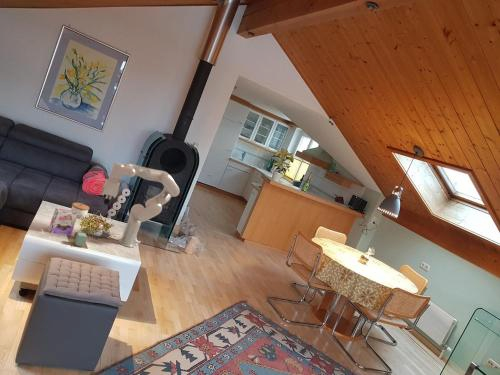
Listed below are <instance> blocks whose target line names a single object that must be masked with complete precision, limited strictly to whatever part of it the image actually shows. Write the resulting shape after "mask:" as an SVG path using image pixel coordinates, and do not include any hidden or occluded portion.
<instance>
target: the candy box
mask: <svg viewBox="0 0 500 375" xmlns="http://www.w3.org/2000/svg"><path fill="white" fill-rule="evenodd" d="M52 214H53V215H52V218H51V219H50V222H49V226H48V230H47V231H48V232H49V233H50V234H58V235H59V234H60V235H66V236H67V235H71V236H72V233H73V229H74V227H75V225H76V224H75V223H76V222H77V219H78V218H77V216H78V214H77V212H76V211H71V209H63V208H58V207H55V209H54V212H53V213H52Z"/></svg>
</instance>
